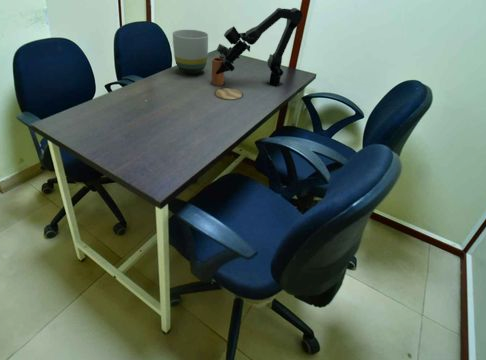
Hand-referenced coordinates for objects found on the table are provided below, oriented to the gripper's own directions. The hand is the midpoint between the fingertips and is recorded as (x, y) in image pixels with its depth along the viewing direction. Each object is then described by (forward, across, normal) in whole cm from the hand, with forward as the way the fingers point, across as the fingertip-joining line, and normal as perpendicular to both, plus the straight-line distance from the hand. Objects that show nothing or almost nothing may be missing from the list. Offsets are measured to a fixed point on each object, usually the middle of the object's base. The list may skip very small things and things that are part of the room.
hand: (215, 71), depth 164 cm
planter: (+14, -17, -4) cm, 22 cm away
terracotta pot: (+4, 0, +6) cm, 7 cm away
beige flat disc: (+1, +15, +8) cm, 17 cm away
